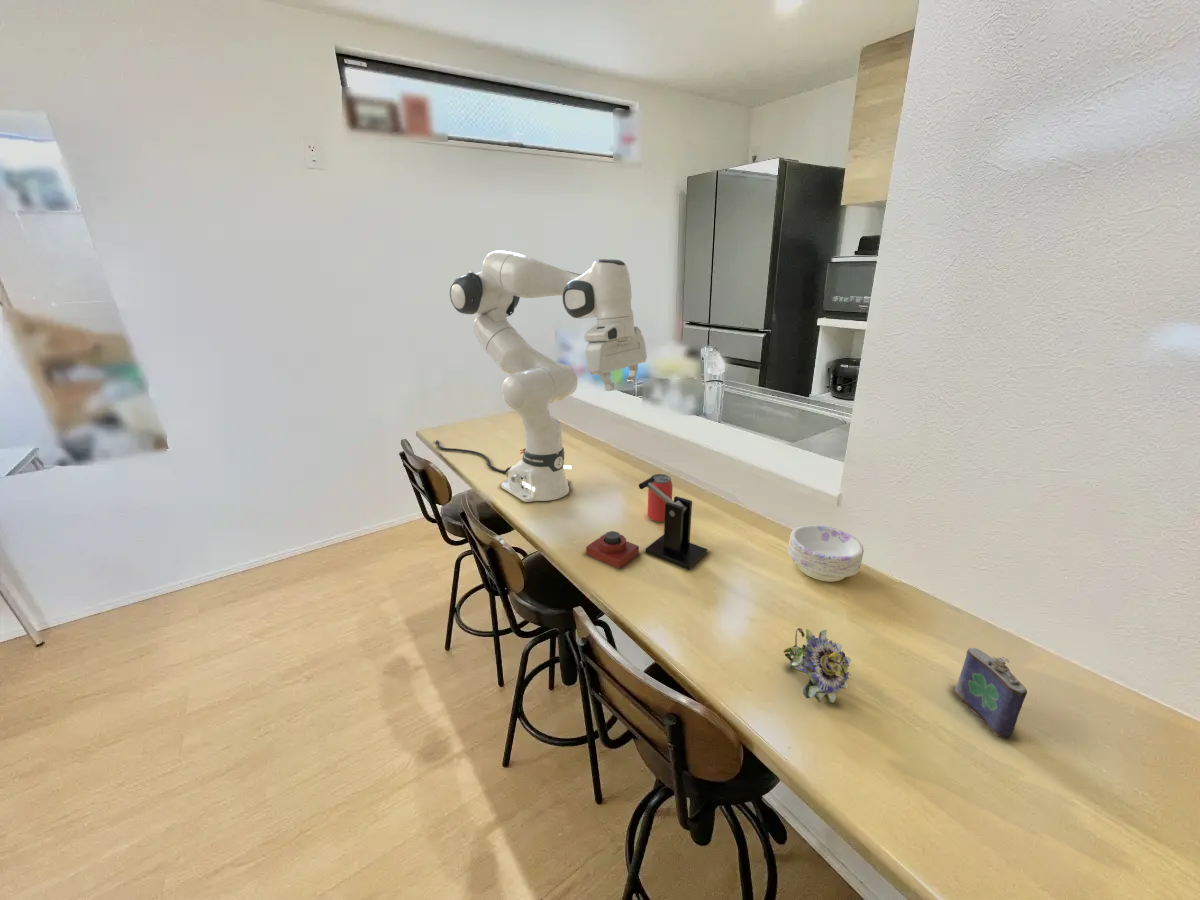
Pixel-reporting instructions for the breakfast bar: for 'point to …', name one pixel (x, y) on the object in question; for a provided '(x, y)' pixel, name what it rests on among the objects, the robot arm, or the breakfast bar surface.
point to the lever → (659, 492)
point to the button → (612, 537)
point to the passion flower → (820, 665)
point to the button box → (612, 551)
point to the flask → (991, 691)
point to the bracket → (677, 537)
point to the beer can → (655, 502)
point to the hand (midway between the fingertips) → (621, 386)
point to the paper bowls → (825, 552)
